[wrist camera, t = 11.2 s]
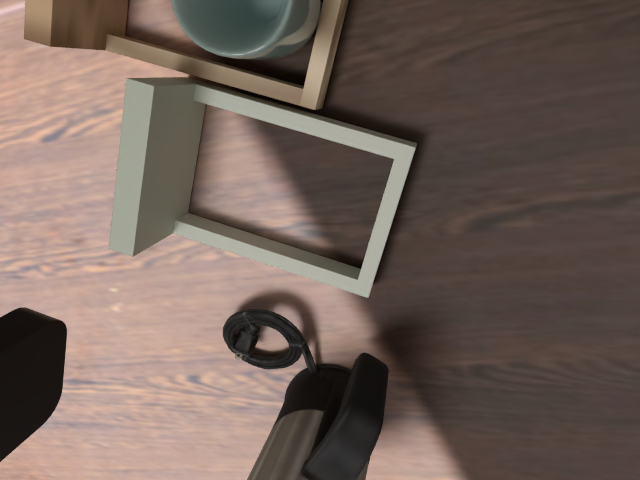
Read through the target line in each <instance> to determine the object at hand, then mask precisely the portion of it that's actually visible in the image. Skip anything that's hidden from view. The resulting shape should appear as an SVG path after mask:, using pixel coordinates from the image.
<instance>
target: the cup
mask: <svg viewBox="0 0 640 480" xmlns="http://www.w3.org/2000/svg"><path fill="white" fill-rule="evenodd" d="M172 5H173V9H174V12H175V15H176V17H177V20H178V22H179V24H180V26H181V27H182V29H183V30H184V32H185V33H186V35H187V36H188V37H189V38H190V39H191V40H192V41H193V42H194V43H195V44H197V45H198V46H200V47H202V48H203V49H205V50H206V51H208V52H211V53H214V54H216V55H219V56H223V57H229V58H235V59H246V60H269V59H275V58H280V57H285V56H287V55H290V54H292V53H294V52H296V51H298V50H299V49H301V48H302V47H303V46H304V45H306V43H307V42H308V41H309V40H310V38H311V37H312V36H313V34H314V32H315V30H316V28H317V25H318V22H319V18H320V13H321V0H172Z"/></svg>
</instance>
